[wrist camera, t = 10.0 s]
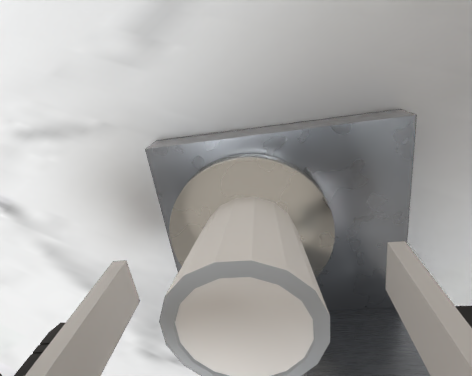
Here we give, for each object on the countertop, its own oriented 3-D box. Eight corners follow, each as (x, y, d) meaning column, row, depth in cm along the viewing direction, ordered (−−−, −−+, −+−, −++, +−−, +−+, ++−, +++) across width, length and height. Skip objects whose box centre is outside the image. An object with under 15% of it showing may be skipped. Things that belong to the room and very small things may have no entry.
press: (400, 109, 18) (766, 238, 5) (387, 353, 25) (516, 662, 12) (156, 140, 20) (-47, 291, 7) (210, 358, 27) (162, 627, 14)
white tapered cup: (331, 247, 18) (368, 349, 12) (243, 300, 20) (234, 411, 14) (258, 162, 17) (255, 227, 10) (172, 230, 19) (123, 319, 12)
